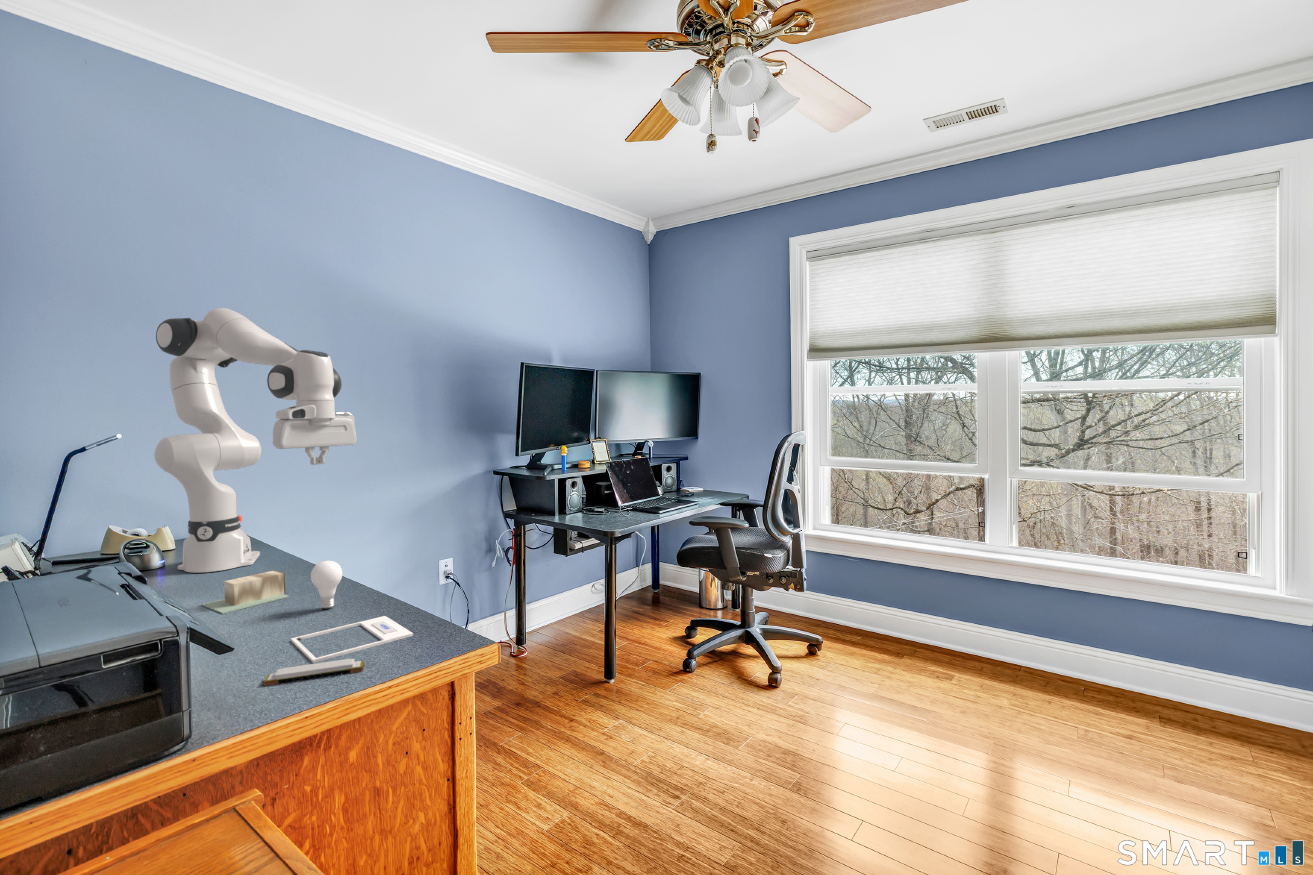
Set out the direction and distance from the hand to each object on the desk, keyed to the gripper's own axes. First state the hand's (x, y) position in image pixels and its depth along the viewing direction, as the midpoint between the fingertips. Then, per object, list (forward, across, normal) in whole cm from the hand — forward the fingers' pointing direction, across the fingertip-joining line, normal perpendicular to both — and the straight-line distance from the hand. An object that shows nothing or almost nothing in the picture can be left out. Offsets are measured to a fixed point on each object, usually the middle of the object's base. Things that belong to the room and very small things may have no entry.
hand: (317, 464), depth 158 cm
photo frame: (+32, +18, +47) cm, 60 cm away
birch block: (+28, +11, +3) cm, 31 cm away
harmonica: (+32, +31, +58) cm, 73 cm away
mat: (+31, +19, +3) cm, 37 cm away
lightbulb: (+31, +12, +25) cm, 41 cm away
